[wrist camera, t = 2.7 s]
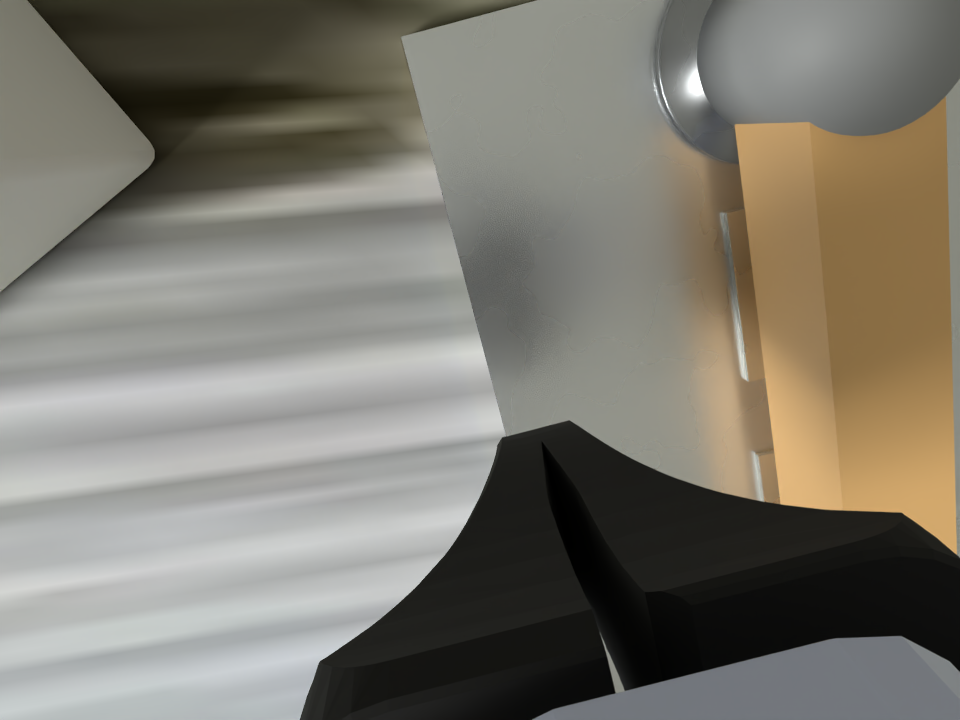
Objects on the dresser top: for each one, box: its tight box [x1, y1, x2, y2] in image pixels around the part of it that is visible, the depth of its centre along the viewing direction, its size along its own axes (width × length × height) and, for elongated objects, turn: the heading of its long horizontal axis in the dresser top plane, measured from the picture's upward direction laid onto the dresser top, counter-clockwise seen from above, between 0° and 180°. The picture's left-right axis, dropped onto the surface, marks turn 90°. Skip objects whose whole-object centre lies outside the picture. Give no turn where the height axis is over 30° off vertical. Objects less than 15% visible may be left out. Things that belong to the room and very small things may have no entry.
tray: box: [401, 0, 960, 693], centre depth 16 cm, size 18×14×1 cm
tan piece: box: [697, 0, 960, 555], centre depth 14 cm, size 16×3×3 cm, turn 14°
